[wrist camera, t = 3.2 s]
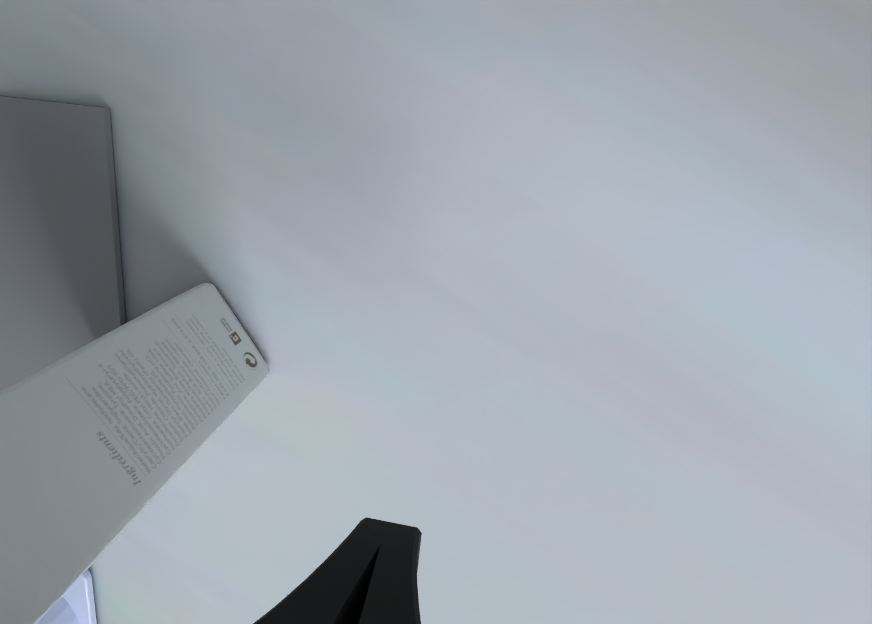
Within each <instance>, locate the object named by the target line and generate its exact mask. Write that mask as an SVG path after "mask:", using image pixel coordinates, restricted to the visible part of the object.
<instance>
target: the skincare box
mask: <svg viewBox="0 0 872 624" xmlns="http://www.w3.org/2000/svg"><path fill="white" fill-rule="evenodd" d="M269 373H270V369H269V367H268V366H267V364H266V363H265V361H264V359H263V358H262V356H261V354H260V353H259V351H258V350H257V348H256V347H255V345H254V343H253V342H252V340H251V339H250V337H249V336H248V334H247V333H246V331H245V330H244V328H243V327H242V325H241V324H240V323H239V321H238V319H237V318H236V316H235V315H234V313H233V312H232V310H231V309H230V307H229V306H228V305H227V303H226V302H225V300H224V299H223V298H222V296H221V295H220V293H219V292H218V290H217V289H216V287H215V286H214V285H213V284H211V283H202V284H200V285H197V286H195V287H193V288H191V289H189V290H188V291H186V292H184V293H182V294H180V295H178V296H176V297H174V298H172V299H170V300H168V301H166V302H164V303H162V304H160V305H159V306H157V307H155V308H153V309H151V310H149V311H147V312H146V313H144V314H142V315H140V316H138V317H136V318H135V319H133V320H131V321H129V322H127V323H125V324H124V325H122V326H120V327H118V328H116V329H114V330H113V331H111V332H109V333H107V334H105V335H103V336H101V337H100V338H98V339H96V340H94V341H92V342H90V343H89V344H87V345H85V346H83V347H81V348H79V349H77V350H75V351H74V352H72V353H70V354H68V355H66V356H64V357H63V358H61V359H59V360H57V361H55V362H53V363H51V364H50V365H48V366H46V367H44V368H42V369H40V370H39V371H37V372H35V373H33V374H31V375H29V376H27V377H26V378H24V379H22V380H20V381H18V382H16V383H14V384H13V385H11V386H9V387H7V388H5V389H3V390H1V391H0V624H36V623H37V622H38V621H39V620H40V619H41V618H42V617H43V616H44V615H45V614H46V613H47V612H48V611H49V609H50V608H51V607H52V606H53V605H54V604H55V603H56V602H57V601H58V600H59V599H60V598H61V597H62V596H63V595H64V594H65V593H66V592H67V591H68V590H69V589H70V587H71V586H72V585H73V584H74V583H75V582H76V581H77V580H78V579H79V578H80V577H81V576H82V575H83V574H84V572H85V571H86V570H87V569H88V568H89V567H90V566H91V565H92V564H93V563H94V562H95V561H96V560H97V559H98V557H99V556H100V555H101V554H102V553H103V552H104V551H105V550H106V549H107V548H108V546H109V545H110V544H111V543H112V542H113V541H114V540H115V539H116V538H117V537H118V536H119V535H120V533H121V532H122V531H123V530H124V529H125V528H126V527H127V526H128V525H129V524H130V523H131V522H132V520H133V519H134V518H135V517H136V516H137V515H138V514H139V513H140V512H141V511H142V510H143V509H144V507H145V506H146V505H147V504H148V503H149V502H150V501H151V500H152V499H153V498H154V497H155V496H156V495H157V494H158V492H159V491H160V490H161V489H162V488H163V487H164V486H165V485H166V484H167V483H168V482H169V480H170V479H171V478H173V477H174V476H175V474H176V473H177V472H178V471H179V470H180V469H181V468H182V467H183V466H184V465H185V464H186V463H187V462H188V461H189V460H190V459H191V458H192V456H193V455H194V454H195V453H196V452H197V451H198V450H199V449H200V448H201V447H202V446H203V445H204V443H205V442H206V441H207V440H208V439H209V438H210V437H211V436H212V435H213V434H214V433H215V432H216V431H217V430H218V429H219V428H220V426H221V425H222V424H223V423H224V422H225V421H226V420H227V419H228V418H229V417H230V416H231V415H232V414H233V413H234V412H235V411H236V410H237V409H238V408H239V406H240V405H241V404H242V403H243V402H244V401H245V400H246V399H247V398H248V397H249V396H250V395H251V393H252V392H253V391H254V390H255V389H256V388H257V387H258V386H259V385H260V384H261V383H262V382H263V381H264V379H265V378H266V377H267V376H268V375H269Z"/></svg>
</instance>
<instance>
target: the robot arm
mask: <svg viewBox="0 0 872 624" xmlns="http://www.w3.org/2000/svg"><path fill="white" fill-rule="evenodd" d="M421 534H422V533H421V532H420V530H419V529H418V528H416V527H411V526H406V525H401V524H396V523H391V522H386V521H381V520H376V519H371V518H365V519H363V520H361V521H360V523H359V524H358V525H357V526H356V527H355V529H354V530H353V531H352V532H351V533H350V534H349V536H348V537H347V538H346V539H345V540H344V541H343V542H342V543H341V544H340V545H339V547H338V548H337V549H336V550H335V551H334V552H333V553H332V554H331V555H330V556H329V557H328V558H327V559H326V560H325V561H324V562H323V563H322V564H321V565H320V566H319V567H318V568H317V569H316V570H315V571H314V572H313V573H312V574H311V575H310V576H309V577H308V578H307V579H306V580H305V581H303V582H302V583H301V584H300V585H299V586H298V587H297V588H296V589H294V590H293V591H292V592H291V593H290V594H289V595H288V596H287V597H285V598H284V599H283V600H282V601H281V602H280V603H279V604H277V605H276V606H275V607H274V608H273V609H271V610H270V611H269V612H268V613H266V614H265V615H264V616H263V617H261V618H260V619H259V620H257V621H256V622H255V623H253V624H421V621H420V612H419V602H418V589H417V568H418V560H419V551H420V542H421ZM36 624H97V621H96V612H95V603H94V594H93V585H92V577H91V573H90V572H89V570H88V569H87V570H86V571H85V572H84V574H83V575H82V576H81V577H80V578H79V579H78V580H77V581H76V582H75V583H74V584H73V585H72V586H71V587H70V589H69V590H68V591H67V592H66V593H65V594H64V595H63V596H62V597H61V598H60V599H59V600H58V601H57V602H56V603H55V604H54V605H53V606H52V607H51V608H50V609H49V611H48V612H47V613H46V614H45V615H44V616H43V617H42V618H41V619H40V620H39V621H38V622H37V623H36Z"/></svg>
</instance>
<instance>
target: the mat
mask: <svg viewBox="0 0 872 624" xmlns="http://www.w3.org/2000/svg"><path fill="white" fill-rule="evenodd" d="M125 323H126V319H125V305H124V292H123V278H122V265H121V251H120V238H119V225H118V211H117V198H116V184H115V171H114V157H113V144H112V131H111V117H110V108H104V107H95V106H86V105H77V104H68V103H59V102H50V101H41V100H32V99H23V98H14V97H5V96H0V391H1V390H3V389H5V388H7V387H9V386H11V385H13V384H14V383H16V382H18V381H20V380H22V379H24V378H26V377H27V376H29V375H31V374H33V373H35V372H37V371H39V370H40V369H42V368H44V367H46V366H48V365H50V364H51V363H53V362H55V361H57V360H59V359H61V358H63V357H64V356H66V355H68V354H70V353H72V352H74V351H75V350H77V349H79V348H81V347H83V346H85V345H87V344H89V343H90V342H92V341H94V340H96V339H98V338H100V337H101V336H103V335H105V334H107V333H109V332H111V331H113V330H114V329H116V328H118V327H120V326H122V325H124V324H125Z"/></svg>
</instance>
